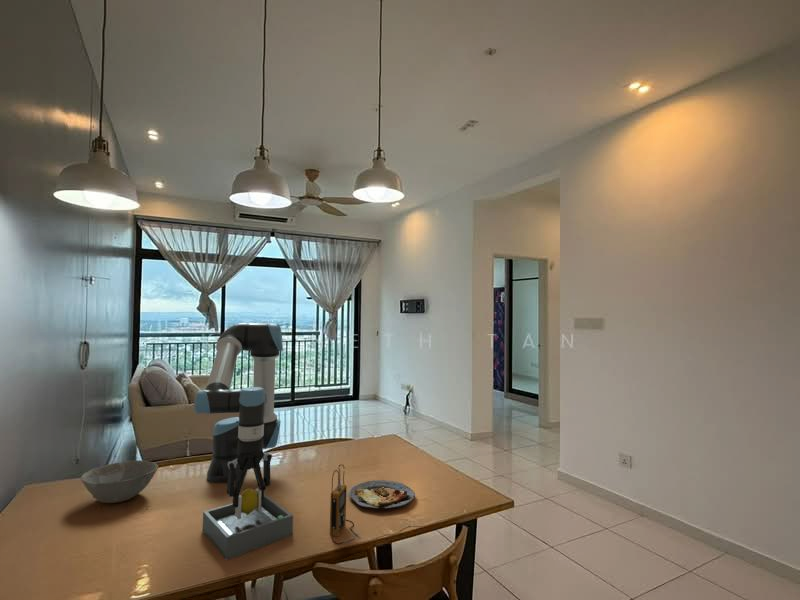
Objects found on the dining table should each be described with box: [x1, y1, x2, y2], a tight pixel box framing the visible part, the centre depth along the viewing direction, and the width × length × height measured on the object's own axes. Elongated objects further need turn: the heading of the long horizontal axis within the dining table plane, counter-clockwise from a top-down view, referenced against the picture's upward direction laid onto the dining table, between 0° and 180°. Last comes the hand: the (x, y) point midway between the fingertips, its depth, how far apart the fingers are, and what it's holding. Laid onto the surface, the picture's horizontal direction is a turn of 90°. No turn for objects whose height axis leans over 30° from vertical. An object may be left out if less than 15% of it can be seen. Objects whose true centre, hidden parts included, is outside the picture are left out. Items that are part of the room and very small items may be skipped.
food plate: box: [348, 479, 416, 510], centre depth 153 cm, size 25×23×4 cm
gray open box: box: [202, 493, 294, 561], centre depth 126 cm, size 20×20×7 cm
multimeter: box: [329, 464, 362, 545], centre depth 128 cm, size 15×10×20 cm
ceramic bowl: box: [80, 459, 159, 504], centre depth 148 cm, size 22×23×10 cm
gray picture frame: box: [216, 506, 276, 535], centre depth 126 cm, size 15×15×1 cm
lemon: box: [240, 487, 258, 515], centre depth 127 cm, size 6×6×8 cm
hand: (248, 513), depth 126 cm, fingers closed on lemon, 5 cm apart
